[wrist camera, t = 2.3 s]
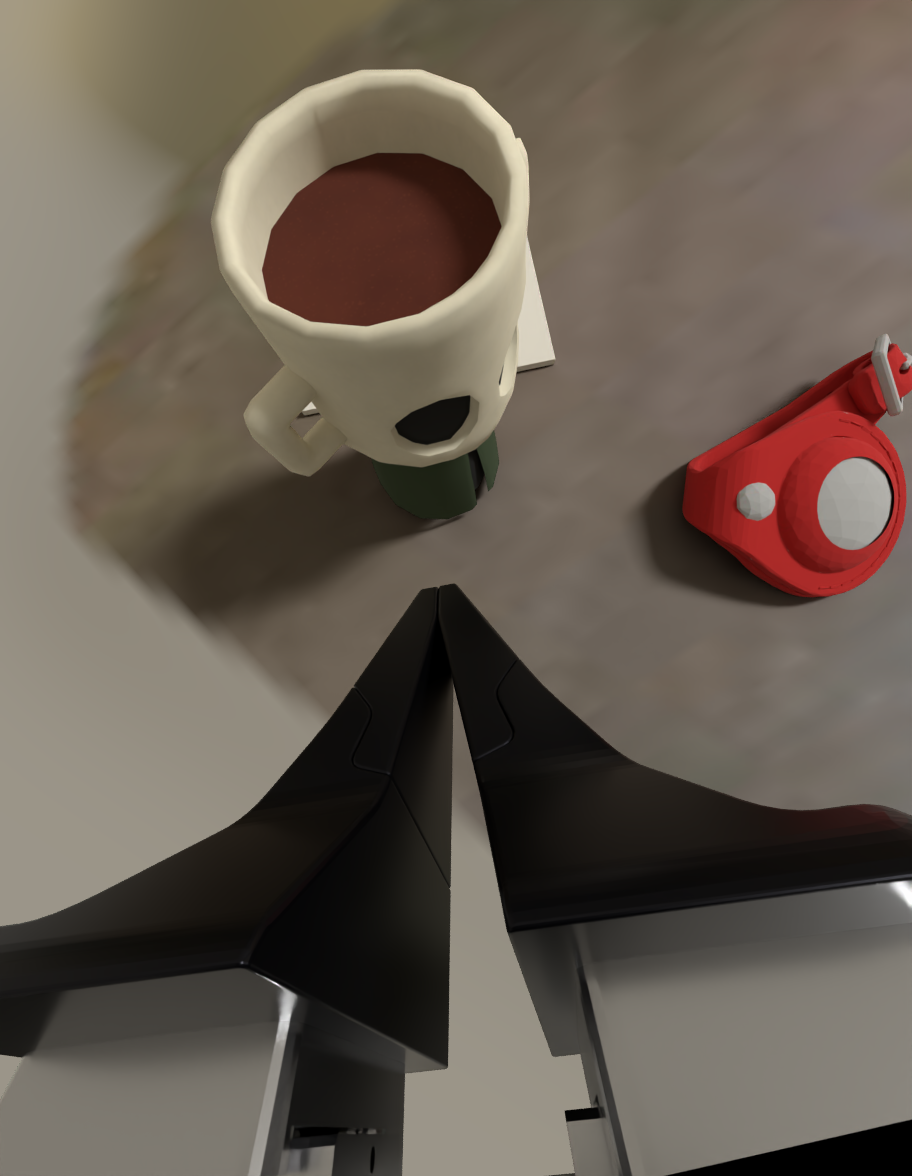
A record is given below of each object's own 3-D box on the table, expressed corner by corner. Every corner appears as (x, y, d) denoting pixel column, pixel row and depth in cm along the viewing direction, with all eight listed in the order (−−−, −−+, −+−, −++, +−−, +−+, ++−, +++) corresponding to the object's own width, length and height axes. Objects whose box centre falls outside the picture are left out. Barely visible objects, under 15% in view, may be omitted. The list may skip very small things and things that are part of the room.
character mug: (419, 586, 21) (304, 484, 8) (323, 500, 22) (82, 287, 9) (558, 431, 21) (664, 99, 8) (457, 356, 22) (414, -39, 9)
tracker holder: (931, 604, 18) (731, 597, 16) (824, 593, 22) (659, 587, 20) (974, 313, 17) (765, 276, 15) (853, 362, 21) (682, 337, 19)
